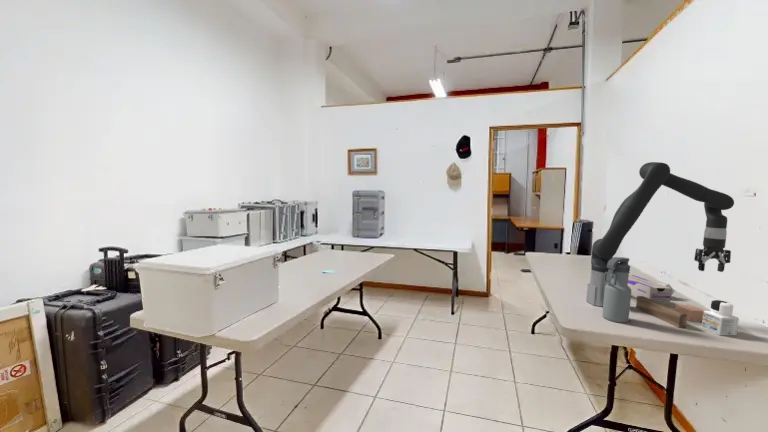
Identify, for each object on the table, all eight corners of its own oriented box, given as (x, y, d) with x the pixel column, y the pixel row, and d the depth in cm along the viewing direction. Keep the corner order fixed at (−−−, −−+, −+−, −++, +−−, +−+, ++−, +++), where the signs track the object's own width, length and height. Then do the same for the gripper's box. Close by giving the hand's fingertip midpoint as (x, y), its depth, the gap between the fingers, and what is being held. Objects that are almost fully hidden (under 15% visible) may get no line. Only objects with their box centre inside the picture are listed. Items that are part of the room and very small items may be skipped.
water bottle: (613, 323, 148) (620, 260, 146) (596, 315, 158) (602, 255, 155) (633, 323, 150) (640, 260, 147) (615, 314, 160) (621, 255, 157)
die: (670, 297, 192) (659, 281, 195) (681, 294, 184) (669, 278, 188) (657, 302, 191) (646, 286, 195) (668, 299, 183) (656, 283, 187)
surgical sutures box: (613, 292, 195) (615, 274, 194) (632, 293, 196) (633, 275, 195) (648, 308, 170) (650, 287, 169) (669, 309, 171) (671, 288, 170)
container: (700, 327, 148) (704, 298, 147) (717, 327, 148) (721, 298, 147) (719, 335, 140) (724, 305, 139) (736, 335, 141) (741, 305, 140)
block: (689, 321, 155) (690, 310, 155) (674, 314, 163) (675, 304, 163) (706, 321, 155) (707, 311, 155) (690, 315, 163) (691, 305, 163)
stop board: (678, 327, 147) (680, 314, 146) (635, 307, 171) (637, 295, 170) (685, 327, 147) (687, 314, 146) (641, 307, 171) (643, 296, 170)
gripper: (706, 237, 156) (702, 272, 158) (738, 239, 156) (734, 273, 157) (692, 235, 164) (688, 268, 165) (723, 236, 163) (719, 269, 165)
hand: (710, 271), depth 161 cm, fingers open, 8 cm apart
